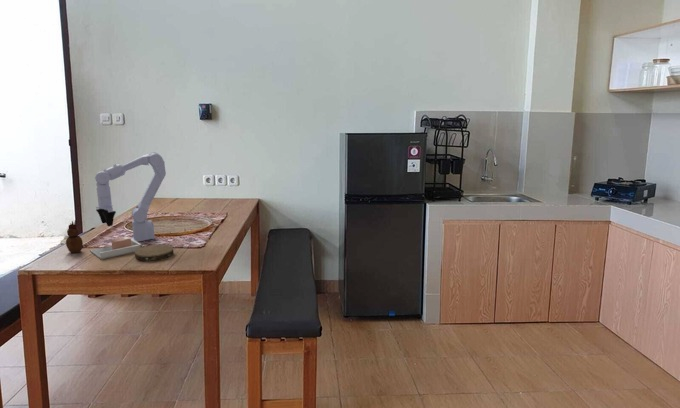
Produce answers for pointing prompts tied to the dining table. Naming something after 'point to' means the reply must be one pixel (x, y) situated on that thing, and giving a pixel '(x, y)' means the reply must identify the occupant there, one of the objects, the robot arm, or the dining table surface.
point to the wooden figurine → (74, 239)
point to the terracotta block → (121, 243)
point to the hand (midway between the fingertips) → (107, 224)
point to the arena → (116, 250)
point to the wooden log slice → (154, 253)
